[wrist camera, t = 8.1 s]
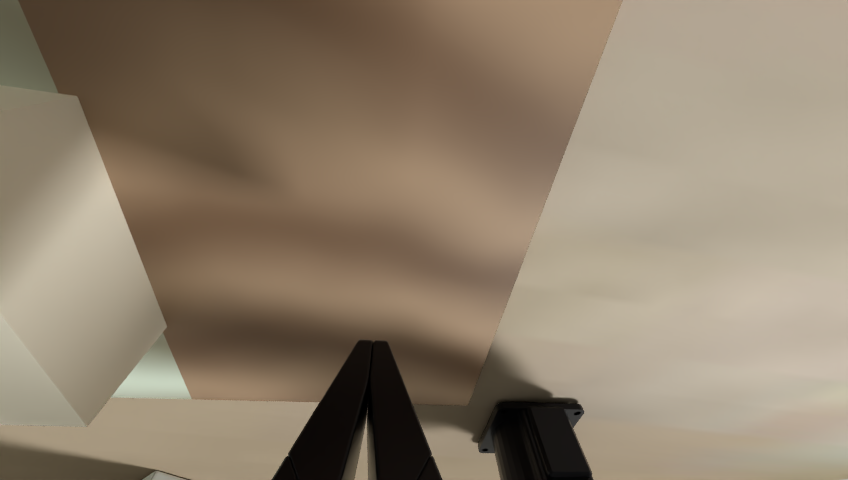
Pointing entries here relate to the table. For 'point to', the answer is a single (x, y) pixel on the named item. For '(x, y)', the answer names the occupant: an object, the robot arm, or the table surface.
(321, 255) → the podium
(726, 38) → the table surface
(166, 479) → the supplement box
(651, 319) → the table surface
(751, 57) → the table surface
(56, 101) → the carton
